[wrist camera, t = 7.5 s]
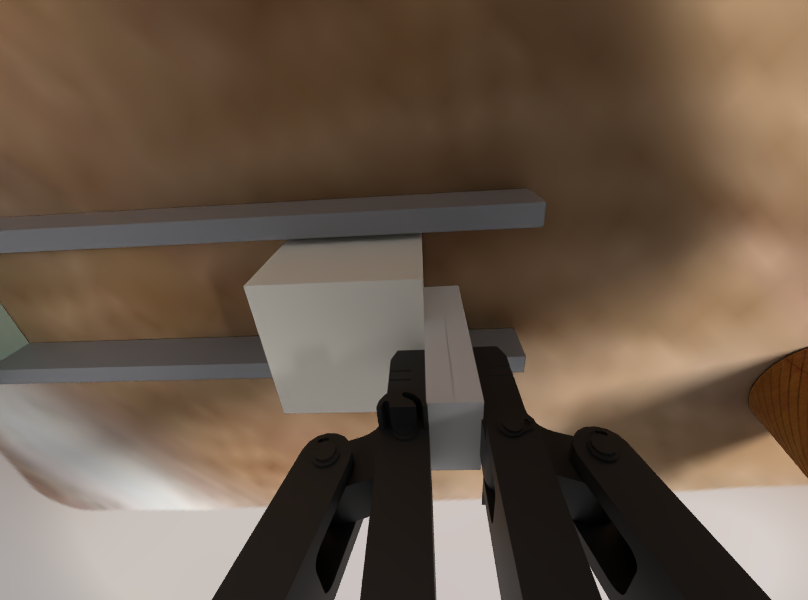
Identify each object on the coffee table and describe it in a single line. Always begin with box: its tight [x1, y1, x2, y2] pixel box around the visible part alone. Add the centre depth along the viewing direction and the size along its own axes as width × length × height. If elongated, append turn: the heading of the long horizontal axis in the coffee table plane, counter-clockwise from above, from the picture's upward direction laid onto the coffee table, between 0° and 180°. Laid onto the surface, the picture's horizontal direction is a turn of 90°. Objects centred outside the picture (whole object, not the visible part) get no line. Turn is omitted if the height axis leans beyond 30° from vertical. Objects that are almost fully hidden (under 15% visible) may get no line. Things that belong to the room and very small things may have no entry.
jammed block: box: [243, 233, 425, 414], centre depth 16 cm, size 6×6×6 cm
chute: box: [0, 188, 547, 384], centre depth 17 cm, size 9×30×4 cm, turn 94°
